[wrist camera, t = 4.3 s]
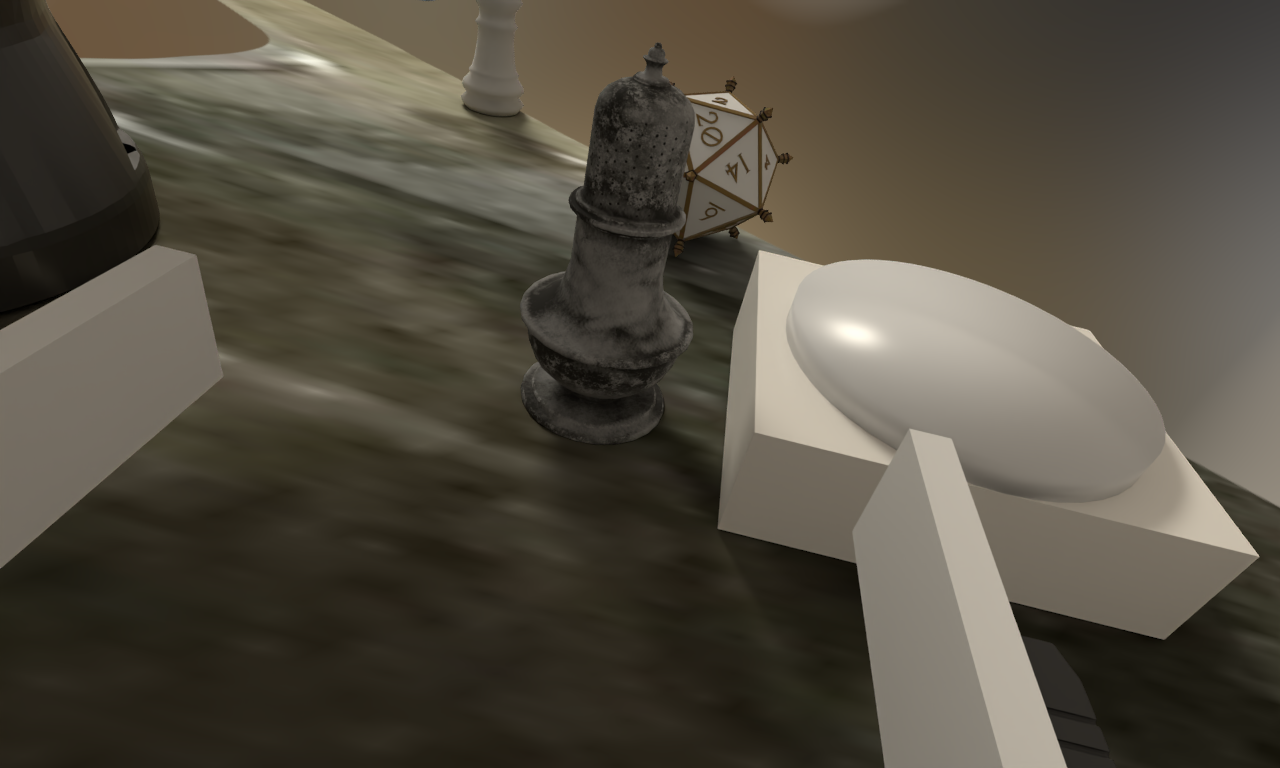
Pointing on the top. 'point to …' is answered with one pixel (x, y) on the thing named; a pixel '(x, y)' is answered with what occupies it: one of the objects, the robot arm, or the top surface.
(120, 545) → the top surface
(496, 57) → the rook chess piece
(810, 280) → the kitchen scale
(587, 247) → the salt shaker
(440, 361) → the top surface
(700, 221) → the game die
